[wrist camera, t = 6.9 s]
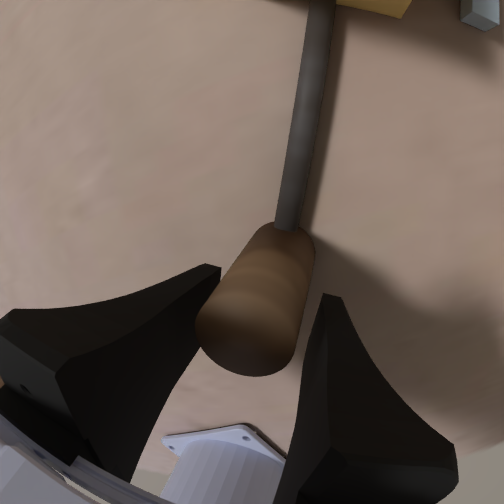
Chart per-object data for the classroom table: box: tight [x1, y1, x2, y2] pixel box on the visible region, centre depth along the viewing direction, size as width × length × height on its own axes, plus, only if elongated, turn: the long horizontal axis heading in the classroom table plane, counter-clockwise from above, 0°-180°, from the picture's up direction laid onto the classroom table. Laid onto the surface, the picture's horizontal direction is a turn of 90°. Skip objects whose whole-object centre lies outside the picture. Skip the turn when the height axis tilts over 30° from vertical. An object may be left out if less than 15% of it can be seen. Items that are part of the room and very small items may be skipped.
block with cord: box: [195, 0, 412, 377], centre depth 7 cm, size 15×5×5 cm, turn 172°
